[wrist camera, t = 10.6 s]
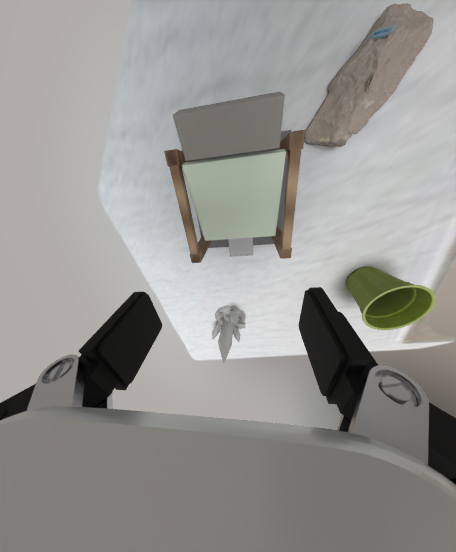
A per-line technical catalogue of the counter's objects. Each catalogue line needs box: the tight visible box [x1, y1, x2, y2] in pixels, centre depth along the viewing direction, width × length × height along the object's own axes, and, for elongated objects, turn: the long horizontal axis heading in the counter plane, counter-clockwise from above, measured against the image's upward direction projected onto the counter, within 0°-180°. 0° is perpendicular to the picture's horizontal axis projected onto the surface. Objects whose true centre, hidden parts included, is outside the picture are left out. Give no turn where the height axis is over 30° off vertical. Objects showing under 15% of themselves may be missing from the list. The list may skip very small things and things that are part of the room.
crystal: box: [212, 306, 245, 363], centre depth 46 cm, size 10×13×15 cm
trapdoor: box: [173, 92, 286, 241], centre depth 23 cm, size 17×13×3 cm
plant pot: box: [347, 267, 436, 330], centre depth 36 cm, size 12×12×11 cm
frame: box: [164, 130, 305, 263], centre depth 28 cm, size 16×17×13 cm
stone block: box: [228, 238, 253, 256], centre depth 36 cm, size 5×5×5 cm
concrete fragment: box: [305, 3, 433, 147], centre depth 22 cm, size 7×14×6 cm, turn 148°
